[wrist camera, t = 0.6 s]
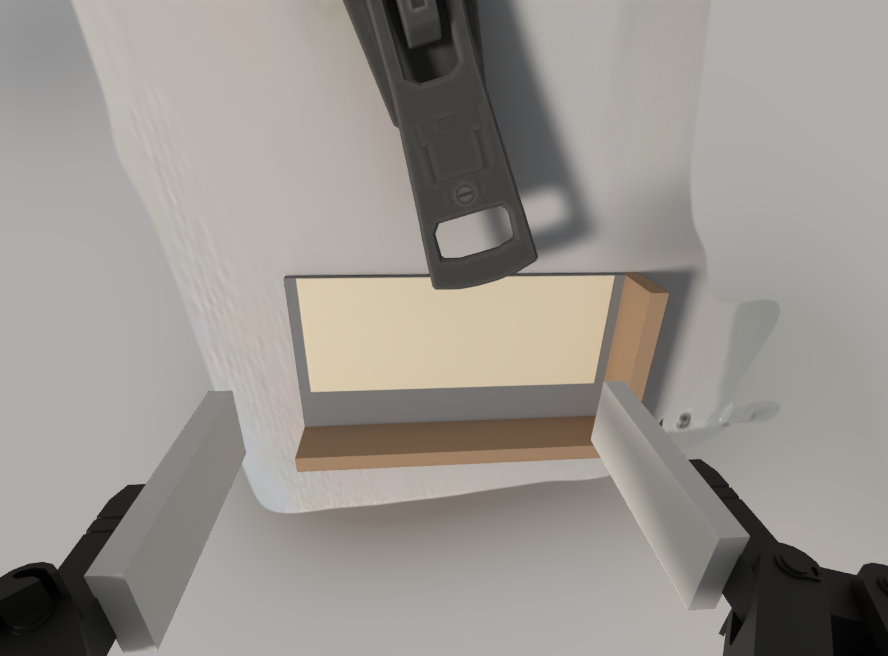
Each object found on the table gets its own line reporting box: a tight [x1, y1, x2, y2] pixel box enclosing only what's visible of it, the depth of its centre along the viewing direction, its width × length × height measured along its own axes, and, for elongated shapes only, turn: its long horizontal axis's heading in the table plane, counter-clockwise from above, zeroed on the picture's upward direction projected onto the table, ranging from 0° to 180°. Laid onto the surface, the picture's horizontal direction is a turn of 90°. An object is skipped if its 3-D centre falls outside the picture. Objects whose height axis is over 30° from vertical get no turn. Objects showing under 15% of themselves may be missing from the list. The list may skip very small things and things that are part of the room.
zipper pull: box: [343, 0, 538, 290], centre depth 29 cm, size 9×7×25 cm
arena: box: [284, 273, 669, 472], centre depth 39 cm, size 16×30×5 cm, turn 89°
